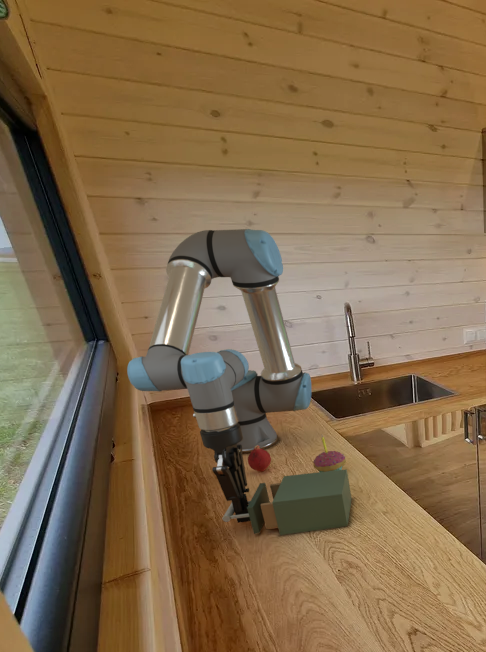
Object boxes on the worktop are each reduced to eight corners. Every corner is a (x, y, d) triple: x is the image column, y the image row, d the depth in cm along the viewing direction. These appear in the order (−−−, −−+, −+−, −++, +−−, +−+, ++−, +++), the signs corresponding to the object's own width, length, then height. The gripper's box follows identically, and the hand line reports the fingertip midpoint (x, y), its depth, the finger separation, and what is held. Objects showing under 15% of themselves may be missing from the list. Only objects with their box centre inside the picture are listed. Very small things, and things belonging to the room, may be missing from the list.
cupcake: (310, 476, 136) (302, 437, 131) (338, 466, 141) (332, 428, 137) (325, 486, 130) (317, 445, 126) (354, 475, 136) (347, 435, 131)
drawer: (223, 537, 107) (215, 511, 105) (237, 511, 118) (231, 486, 115) (317, 525, 111) (312, 499, 109) (324, 500, 122) (319, 476, 119)
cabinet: (279, 535, 110) (272, 502, 106) (290, 506, 121) (283, 476, 118) (347, 526, 112) (341, 493, 109) (351, 499, 124) (346, 469, 120)
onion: (264, 477, 136) (258, 451, 133) (246, 475, 137) (239, 449, 134) (277, 467, 141) (271, 442, 138) (260, 466, 142) (254, 441, 139)
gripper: (210, 417, 109) (235, 508, 118) (188, 439, 97) (218, 538, 106) (246, 414, 111) (268, 504, 120) (229, 435, 99) (255, 533, 108)
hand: (244, 520), depth 113 cm, fingers closed
